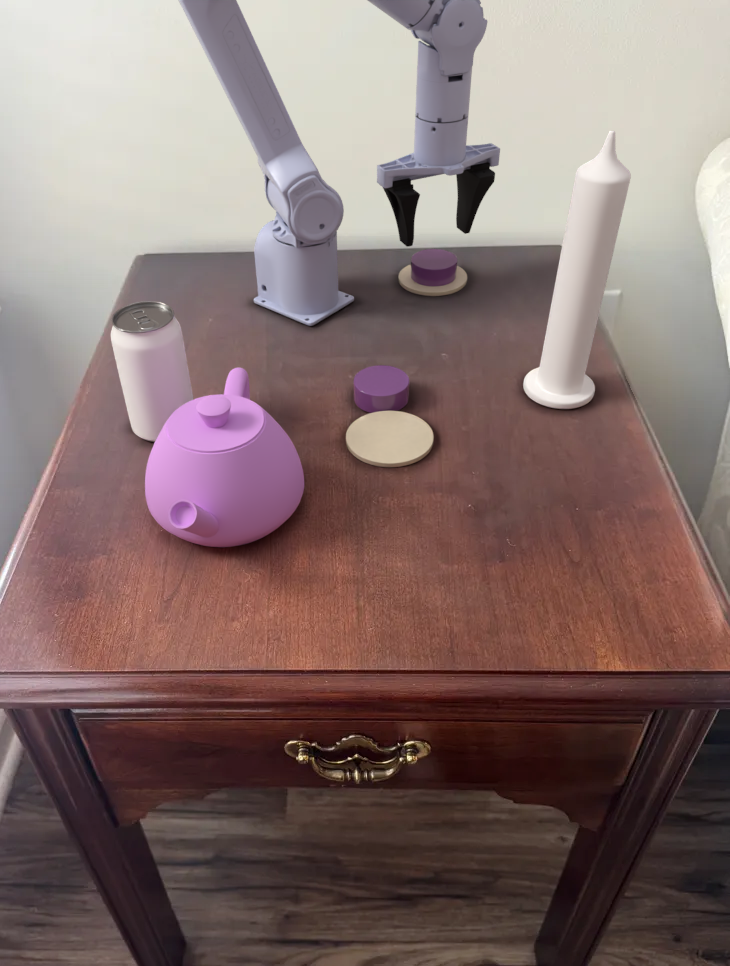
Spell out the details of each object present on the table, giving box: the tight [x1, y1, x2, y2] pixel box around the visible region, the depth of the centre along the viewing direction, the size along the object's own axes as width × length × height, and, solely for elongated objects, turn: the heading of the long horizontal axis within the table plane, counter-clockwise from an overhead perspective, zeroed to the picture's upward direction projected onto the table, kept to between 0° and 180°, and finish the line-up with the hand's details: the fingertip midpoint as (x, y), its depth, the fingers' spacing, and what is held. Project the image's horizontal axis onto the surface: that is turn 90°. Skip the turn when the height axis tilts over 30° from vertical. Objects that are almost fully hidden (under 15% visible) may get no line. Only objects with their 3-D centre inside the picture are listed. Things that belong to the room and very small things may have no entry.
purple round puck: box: [410, 248, 458, 286], centre depth 104 cm, size 6×6×2 cm
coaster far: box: [397, 263, 468, 297], centre depth 105 cm, size 8×8×1 cm
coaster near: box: [345, 410, 435, 468], centre depth 82 cm, size 8×8×1 cm
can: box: [110, 300, 194, 443], centre depth 81 cm, size 6×6×12 cm
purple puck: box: [353, 364, 410, 414], centre depth 86 cm, size 6×6×2 cm
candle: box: [522, 130, 632, 410], centre depth 78 cm, size 7×7×25 cm
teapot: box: [144, 366, 305, 548], centre depth 72 cm, size 14×20×11 cm
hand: (434, 236), depth 101 cm, fingers open, 7 cm apart
